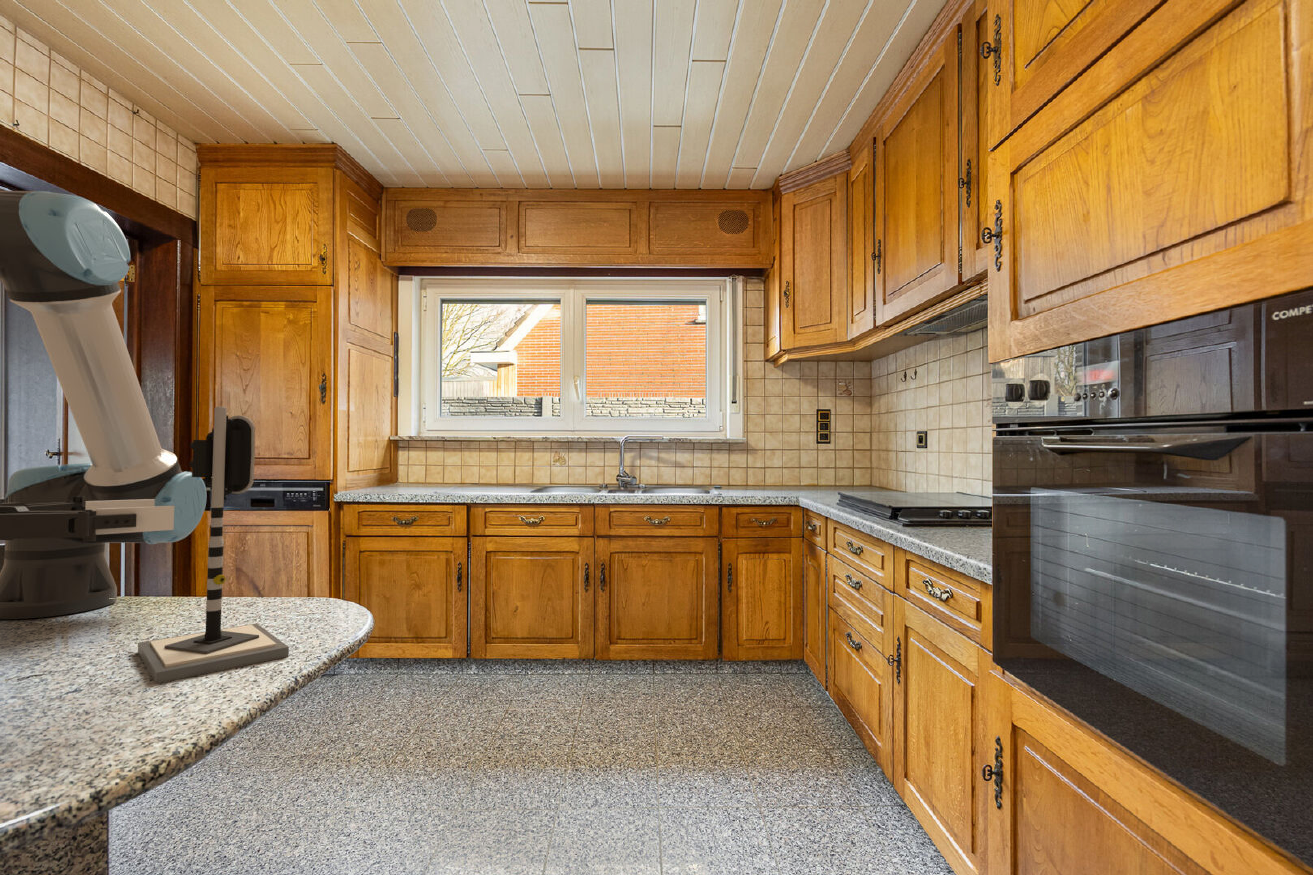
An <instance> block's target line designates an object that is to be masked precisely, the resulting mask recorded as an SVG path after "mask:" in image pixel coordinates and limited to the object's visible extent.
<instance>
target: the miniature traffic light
mask: <svg viewBox="0 0 1313 875" xmlns="http://www.w3.org/2000/svg"><path fill="white" fill-rule="evenodd" d="M227 412H228V410H227V406H215V407H214V415H213V416H214V419H213V420H214V421H213V428H211V431H210V432H209V433H207V435H206V437H205V439H193V441H192V442H191V443H190V446H189V447H190V448H191V450H192V460H190V462H189V467H190V468H192V471H191V473H192V477H201V478H204V484H205V485H207V486H208V487H209V490H210V491H211V504H210V505H211V506H210V531H209V534H210V535H209V536H210V537H209V541H208V547H207V548H208V550H207V579H206V580H207V584H206V606H205V607H206V608H205V609H206V610H205V613H206V614H205V615H206V616H205V631H204V632H205V634H204V635H201V636H197V637H194V638H190V639H187V640H183V641H179V642H176V643H172V644H169V645H165V647H164V649H171V650H179V651H186V652H193V653H201V654H209V653H213V652H216V651H219V650H222V649H225V648H228V647H232V646H235V645H238V644H241V643H244V642H248V641H251V640H254V639H257V638H259V635H254V634H245V633H237V632H229V631H221V629H222V600H223V584H225V582H226V578H227V577H226V576H225V575H224V573H223V571H224V544H225V543H224V538H223V535H224V534H223V532H224V531H223V530H224V529H223V528H224V502H225V500H226V496H228V495H230V494H234V495H236V494H243V493H245V492H248V490H249V489H250V488H252V486H253V484H254V477H255V474H254V473H255V459H256V426H255V423H254V422H253V421H252V419H250V418H249V417H247V416H246V415H245V416H244V415H233V416H231V417H229V415H227Z"/></svg>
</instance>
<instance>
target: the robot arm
mask: <svg viewBox="0 0 1313 875" xmlns="http://www.w3.org/2000/svg"><path fill="white" fill-rule="evenodd" d="M130 262H131V251H130V246H129V243H128V241H127V239H126V237H125V234H124V232H123V231H122V229H121V227H120V226H119V224H118V223H117V221H115V219H114V218H113V217H112V216H111V215H110V214H109V213H108V212H107V211H106V210H105V209H101V208H100V207H99V206H98V205H97V204H96V203H94V202H93V201H91V200H89V199H86V198H84V197H81V196H78V195H74V194H68V193H67V194H65V193H59V192H58V193H57V192H52V191H48V190H46V191H43V190H0V282H2V284H3V287H4V290H5V292H6V294H7V297H8V299H9V300H10V302H11V303H13V304H15V305H17V306H19V307H21V308H23V309H25V310H27V311H28V312H30V313H31V315H32V319H33V320H34V322H35V325H36V327H37V330H38V334H39V335H40V337H41V340H42V343H43V345H44V348H45V350H46V353H47V356H48V358H49V361H50V363H51V364H52V367H53V371H54V373H55V375H56V377H57V380H58V382H59V385H60V387H61V391H62V392H63V395H64V397H65V399H66V400H65V401H66V402H67V405H68V407H69V409H70V412H71V414H72V416H73V420H74V422H75V425H76V427H77V429H78V432H79V434H80V437H81V439H82V442H83V444H84V446H85V449H86V452H87V454H88V456H89V459H90V461H91V462H90V463H89V462H88V463H83V462H82V463H71V464H69V463H67V464H54V465H46V466H35V467H29V468H22V469H18V470H16V471H15V472H13V474H11V476H9V479H8V484H7V492H6V493H5V502H1V503H0V541H4V559H3V566H2V568H1V570H0V620H23V619H24V620H25V619H26V620H27V619H35V618H36V619H38V618H46V617H55V616H62V615H63V616H64V615H68V614H76V613H81V612H86V611H90V610H94V609H101V608H102V607H106V606H109V605H112V604H114V603H116V602H117V599H109V598H117V597H118V596H117V595H118V587H117V584H116V582H115V579H114V577H113V574H112V572H111V569H110V567H109V565H108V562H107V559H106V557H105V556H106V554H105V552H106V551H105V550H106V543H107V544H109V543H110V544H132V543H133V544H145V543H146V544H148V545H157V544H160V543H163V544H165V543H167V544H168V543H175V542H178V541H181V540H184V539H185V538H187V537H188V536H189V535H190V534H191V533H192V532H193V531H194V530H195V529H196V528H197V526H199V524H200V522H201V521H202V520H201V519H202V517H203V514H204V512H205V510H206V504H207V488H206V483H205V480H203V477H192V471H187V470H186V471H182V469H181V465H180V462H179V460H178V457H177V455H176V454H175V453H174V452H171V451H169V450H167V449H164V448H162V446H161V442H160V440H159V437H158V433H157V431H156V428H155V426H154V423H153V420H152V417H151V415H150V414H151V413H150V411H149V409H148V406H147V403H146V399H145V396H144V394H143V391H142V388H141V385H140V382H139V379H138V376H137V373H136V370H135V367H134V365H133V362H132V359H131V356H130V354H129V351H128V348H127V344H126V342H125V339H124V336H123V332H122V330H121V328H120V323H119V321H118V319H117V316H116V312H115V310H114V307H113V302H114V301H115V299H116V298H117V297H118V295H120V293H121V292H122V290H121V287H120V284H119V282H120V281H122V280H123V279H124V278H125V277H126V276H127V275H128V272H129V270H130V266H129V264H128V263H130Z"/></svg>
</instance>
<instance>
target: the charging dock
mask: <svg viewBox="0 0 1313 875" xmlns="http://www.w3.org/2000/svg"><path fill="white" fill-rule="evenodd" d="M221 631H229V632H237V633H245V634H254V635H259V638H257V639H254V640H251V641H248V642H244V643H241V644H238V645H235V646H232V647H228V648H225V649H222V650H219V651H216V652H213V653H209V654H201V653H193V652H186V651H179V650H171V649H164V647H165V645H169V644H172V643H176V642H179V641H183V640H187V639H190V638H194V637H197V636H201V635H204V634H205V632H206V631H202V632H195V633H190V634H184V635H177V636H172V637H171V636H170V637H166V638H159V639H153V640H148V641H142V642H141V641H140V642H137V653H138V655H139V657H140V658H141V660H142V662H143V664H144V666H145V667H146V669H147V671H148V672H149V674H150V676H151V678H152V679H153V681H154V683H155V684H156V685H157V684H162V683H166V682H171V681H176V680H181V679H185V678H190V677H195V676H199V675H205V674H210V673H215V672H220V671H225V670H230V669H235V668H240V667H243V666H244V667H245V666H249V665H253V664H258V663H259V664H260V663H263V662H264V663H265V662H268V661H273V660H277V659H278V660H279V659H282V658H287V657H289V652H290V646H288V645H287V644H285V643H284V642H283V641H282V640H280V639H279V638H278V637H276V636H275V635H274V634H272V633H271V632H269V631H268V630H266V629H265V628H264V627H262V626H261V625H260V624H259V623H257V622H256V623H251V624H244V625H239V626H234V627H233V626H232V627H227V628H225V627H224V628H221Z"/></svg>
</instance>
